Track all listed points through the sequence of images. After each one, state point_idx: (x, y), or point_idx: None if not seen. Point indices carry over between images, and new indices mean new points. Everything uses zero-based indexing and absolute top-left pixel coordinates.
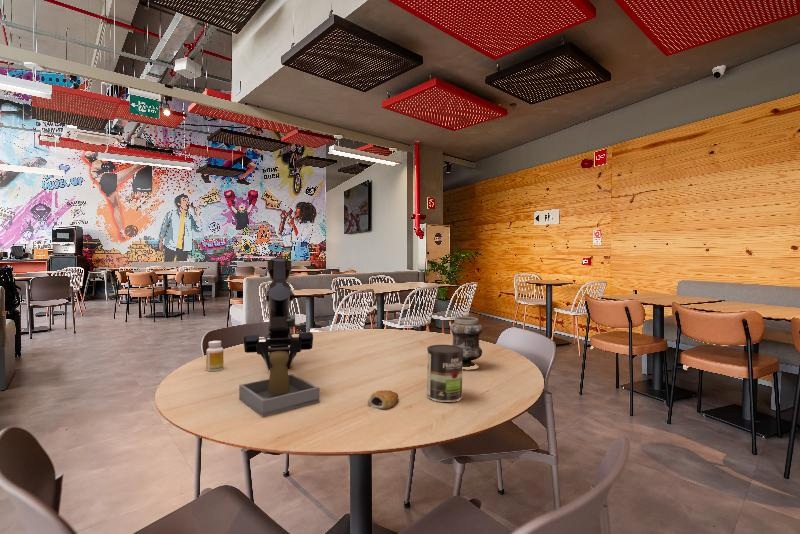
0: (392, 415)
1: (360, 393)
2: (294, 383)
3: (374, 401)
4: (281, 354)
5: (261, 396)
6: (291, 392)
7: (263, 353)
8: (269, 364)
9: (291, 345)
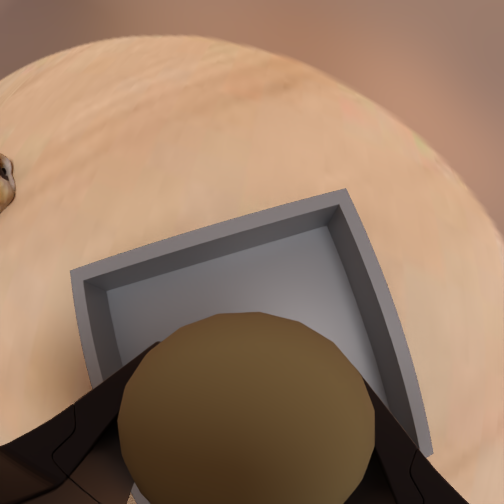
0: (20, 132)
1: None
2: None
3: (3, 175)
4: (224, 338)
5: None
6: None
7: (441, 482)
8: None
9: (20, 490)
